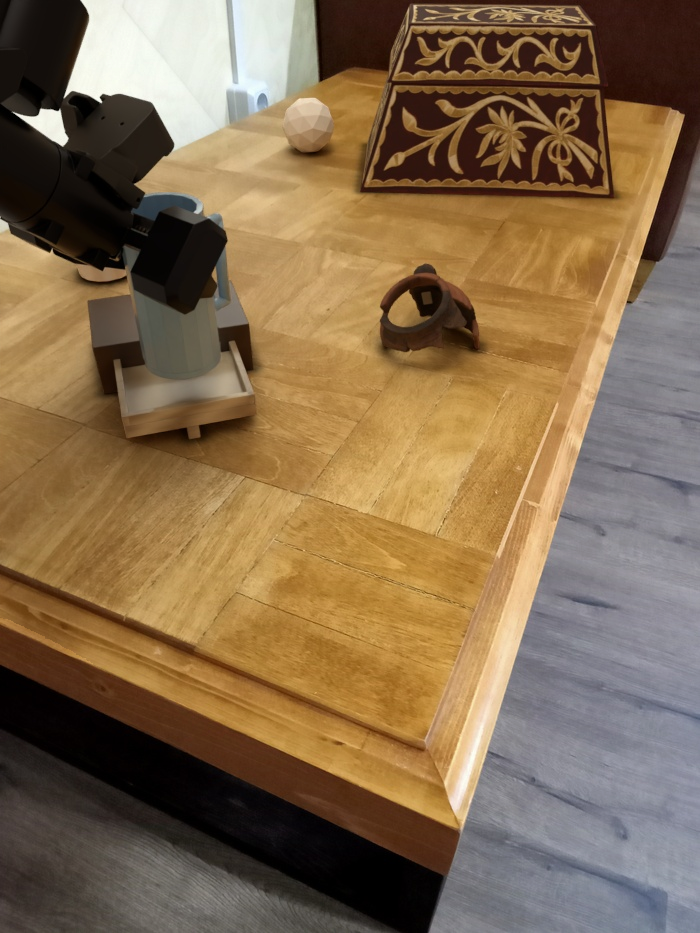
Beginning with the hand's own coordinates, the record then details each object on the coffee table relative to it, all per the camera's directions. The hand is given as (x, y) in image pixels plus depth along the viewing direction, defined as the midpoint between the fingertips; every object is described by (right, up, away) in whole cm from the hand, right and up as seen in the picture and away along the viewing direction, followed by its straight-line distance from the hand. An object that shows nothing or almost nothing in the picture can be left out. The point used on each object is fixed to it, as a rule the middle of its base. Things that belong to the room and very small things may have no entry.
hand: (184, 278), depth 62 cm
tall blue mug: (0, -5, +4) cm, 7 cm away
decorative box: (+33, +29, +53) cm, 69 cm away
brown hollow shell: (+21, -2, +17) cm, 27 cm away
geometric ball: (+7, +34, +59) cm, 69 cm away
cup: (-15, +7, +28) cm, 33 cm away
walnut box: (-3, -7, +11) cm, 13 cm away
